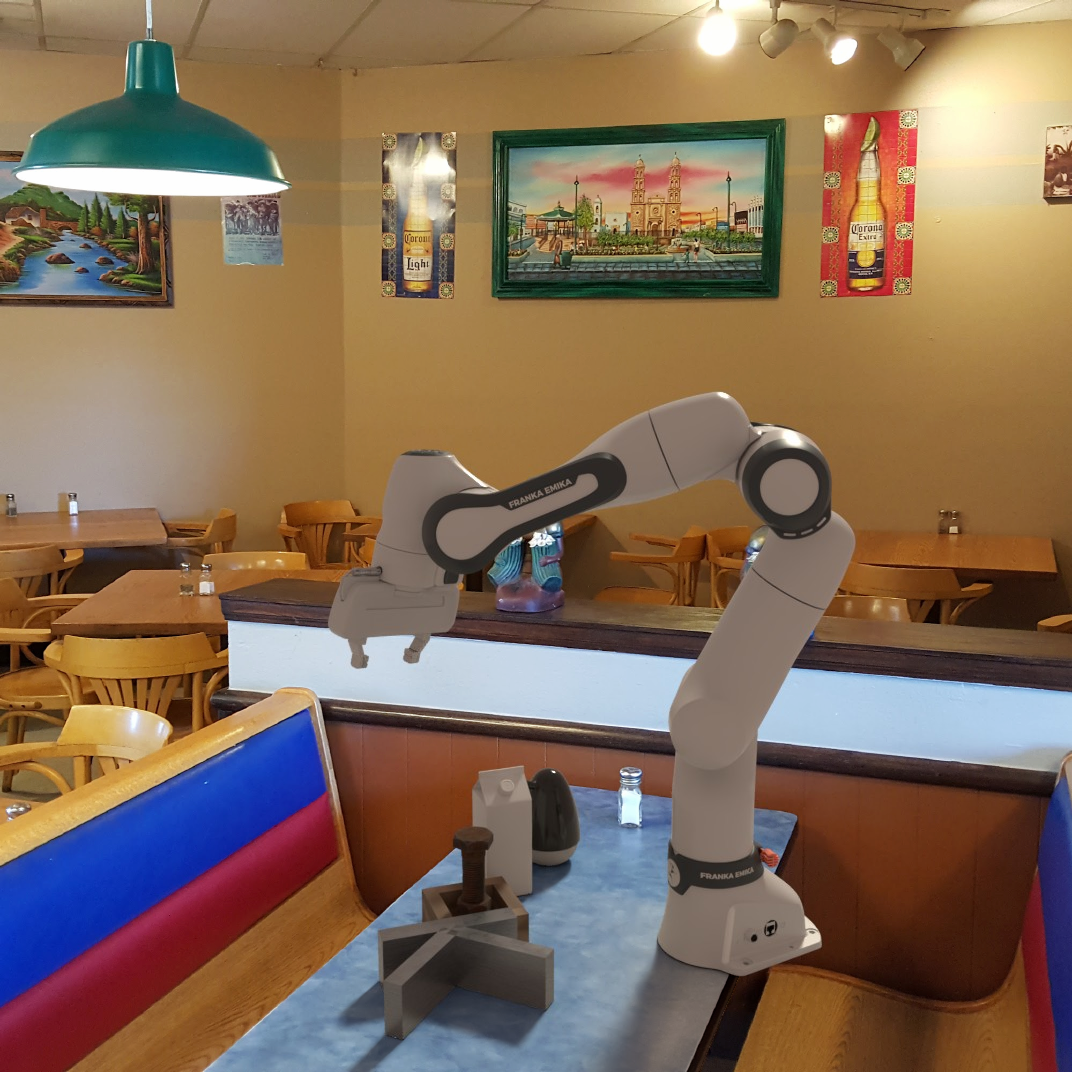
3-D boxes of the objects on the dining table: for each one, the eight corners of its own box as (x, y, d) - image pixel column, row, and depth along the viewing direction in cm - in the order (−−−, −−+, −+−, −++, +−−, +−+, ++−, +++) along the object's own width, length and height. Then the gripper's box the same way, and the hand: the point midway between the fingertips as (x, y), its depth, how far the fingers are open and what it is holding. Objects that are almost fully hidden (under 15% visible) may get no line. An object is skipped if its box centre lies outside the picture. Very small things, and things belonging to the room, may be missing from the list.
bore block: (502, 907, 166) (501, 875, 165) (528, 947, 155) (528, 913, 154) (422, 921, 162) (421, 889, 161) (444, 963, 151) (443, 928, 150)
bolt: (486, 946, 155) (485, 843, 153) (451, 943, 156) (449, 840, 154) (496, 926, 161) (495, 826, 158) (462, 922, 162) (461, 823, 159)
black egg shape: (504, 855, 183) (503, 765, 181) (556, 840, 189) (556, 753, 186) (538, 879, 175) (538, 785, 172) (592, 862, 180) (593, 772, 178)
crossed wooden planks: (522, 953, 153) (522, 904, 152) (558, 1007, 140) (559, 955, 139) (365, 982, 146) (363, 932, 145) (388, 1043, 133) (386, 988, 132)
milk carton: (473, 881, 174) (471, 764, 171) (516, 874, 177) (515, 758, 174) (487, 902, 168) (486, 780, 164) (532, 894, 170) (532, 774, 167)
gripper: (360, 574, 141) (339, 678, 143) (472, 572, 157) (452, 666, 159) (328, 560, 145) (309, 662, 147) (441, 560, 161) (422, 652, 163)
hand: (384, 664), depth 153 cm, fingers open, 8 cm apart
